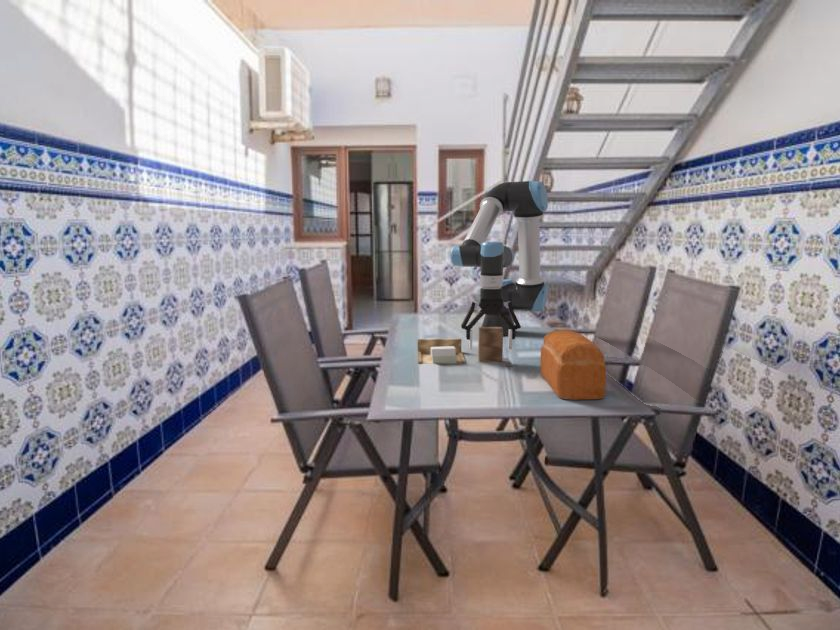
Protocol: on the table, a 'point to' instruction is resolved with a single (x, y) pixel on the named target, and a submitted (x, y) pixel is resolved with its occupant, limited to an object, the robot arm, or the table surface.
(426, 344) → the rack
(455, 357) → the offcut lower
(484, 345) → the walnut board
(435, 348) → the offcut upper
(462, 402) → the table surface
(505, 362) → the rubber mat
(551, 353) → the bread
